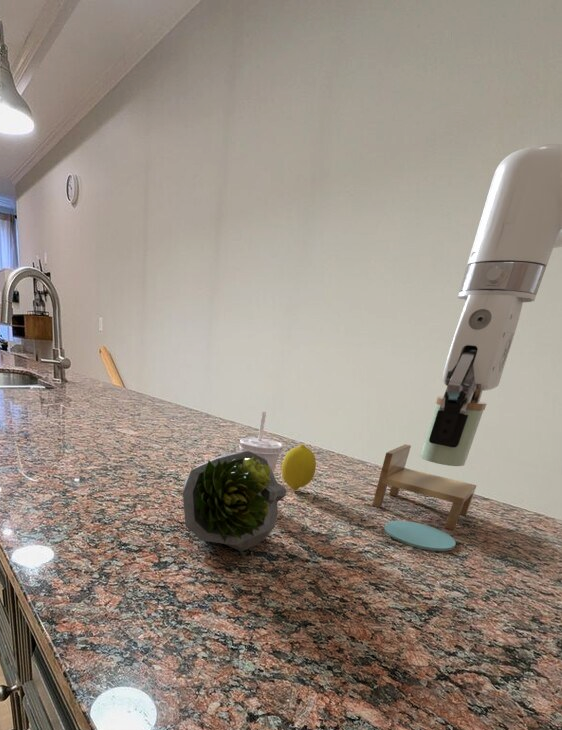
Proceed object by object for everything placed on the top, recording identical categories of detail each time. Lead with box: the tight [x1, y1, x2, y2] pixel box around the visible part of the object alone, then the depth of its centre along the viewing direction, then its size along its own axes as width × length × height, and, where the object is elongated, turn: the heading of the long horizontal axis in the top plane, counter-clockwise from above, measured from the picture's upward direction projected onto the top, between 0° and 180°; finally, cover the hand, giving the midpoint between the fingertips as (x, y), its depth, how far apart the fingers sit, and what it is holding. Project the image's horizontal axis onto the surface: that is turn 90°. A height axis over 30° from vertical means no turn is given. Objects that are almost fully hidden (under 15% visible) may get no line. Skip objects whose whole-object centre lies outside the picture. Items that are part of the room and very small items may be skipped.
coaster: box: [384, 520, 457, 552], centre depth 63 cm, size 9×9×1 cm
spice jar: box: [419, 396, 487, 467], centre depth 57 cm, size 5×5×8 cm
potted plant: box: [182, 451, 287, 553], centre depth 53 cm, size 12×13×15 cm
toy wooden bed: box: [371, 444, 478, 531], centre depth 71 cm, size 12×10×9 cm
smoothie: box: [238, 411, 284, 475], centre depth 67 cm, size 6×6×14 cm
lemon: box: [281, 444, 317, 491], centre depth 76 cm, size 6×6×8 cm
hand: (448, 440), depth 57 cm, fingers closed on spice jar, 5 cm apart
